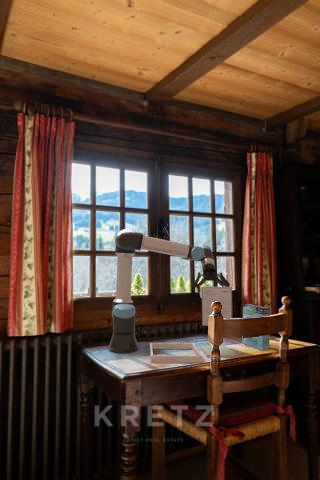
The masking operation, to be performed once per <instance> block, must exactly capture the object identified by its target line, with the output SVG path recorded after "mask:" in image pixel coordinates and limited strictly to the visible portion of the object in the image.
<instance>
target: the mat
mask: <svg viewBox="0 0 320 480" xmlns="http://www.w3.org/2000/svg"><path fill="white" fill-rule="evenodd" d="M212 346H213V345H200V350H201V351H202V352H203V354H204V355H205V356H206V358H211V357H210V356H211V350H212ZM219 346H220V351H221V357H220V358H235V357H236V355H235V354H234V352H232V350H230V349H229V347H227V346H226V345H219Z"/></svg>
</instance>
